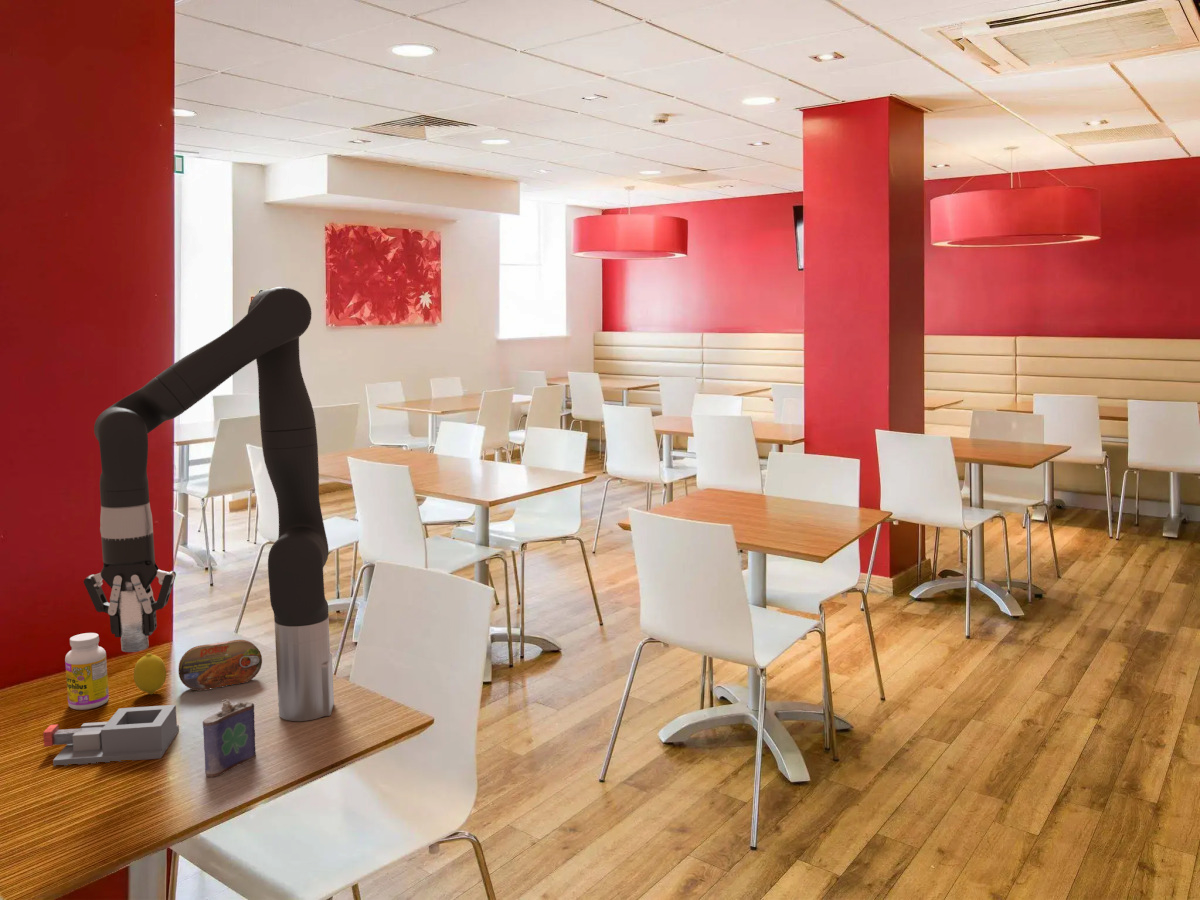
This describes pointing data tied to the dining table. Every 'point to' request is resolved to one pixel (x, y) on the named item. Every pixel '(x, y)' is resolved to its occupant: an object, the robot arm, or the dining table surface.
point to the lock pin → (63, 735)
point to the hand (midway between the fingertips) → (134, 634)
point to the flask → (229, 738)
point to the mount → (124, 737)
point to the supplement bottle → (86, 672)
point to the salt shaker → (131, 621)
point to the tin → (219, 664)
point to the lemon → (149, 673)
